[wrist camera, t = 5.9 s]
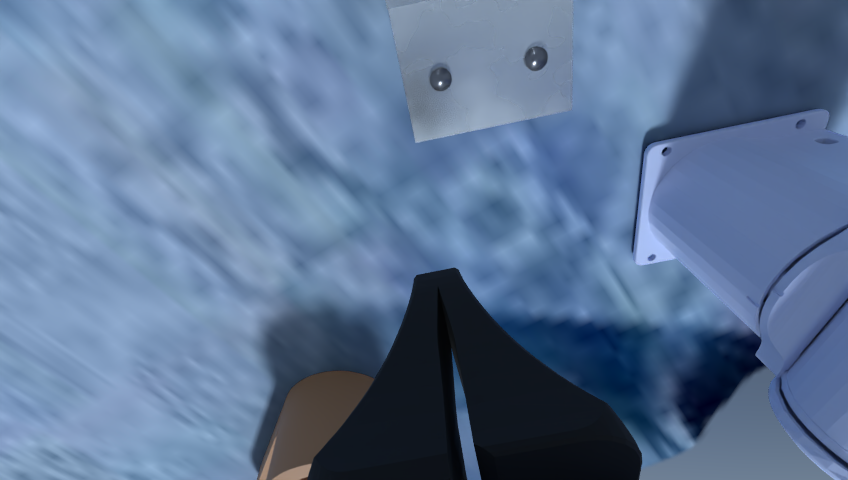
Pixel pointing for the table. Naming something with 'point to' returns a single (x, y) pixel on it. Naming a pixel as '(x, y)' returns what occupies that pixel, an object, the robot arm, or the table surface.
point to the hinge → (482, 61)
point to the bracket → (310, 422)
